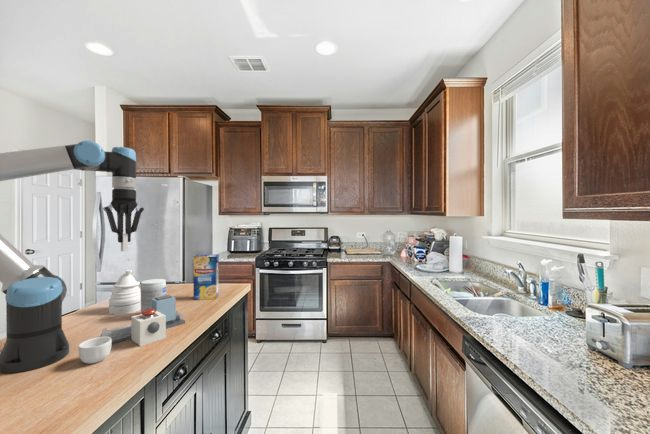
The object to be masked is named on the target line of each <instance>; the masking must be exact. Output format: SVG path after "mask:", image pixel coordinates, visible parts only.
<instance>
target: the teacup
mask: <svg viewBox="0 0 650 434" xmlns="http://www.w3.org/2000/svg"><path fill="white" fill-rule="evenodd" d="M112 345H113V344H112V339H111V338H110V337H101V336H97V337H92V338H90V339H87V340H84V341H82V342H80V343H79V345H78V357H79V358H80V361H81V362H83V363H85V364H89V365H90V364H91V365H92V364H96V363H99V362H103V360H105V359H106V358H107V357H108V356H109V354H110V353H111V351H112V350H111V349H112Z"/></svg>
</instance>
